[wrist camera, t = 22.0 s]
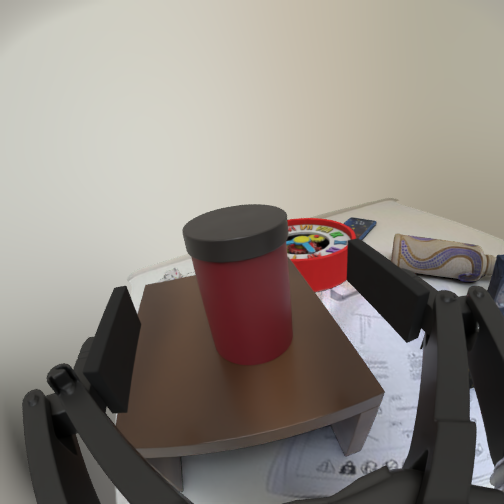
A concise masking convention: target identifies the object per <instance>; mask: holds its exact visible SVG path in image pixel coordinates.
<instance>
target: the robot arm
mask: <svg viewBox="0 0 504 504" xmlns="http://www.w3.org/2000/svg"><path fill="white" fill-rule="evenodd" d="M347 281H348V282H349V283H350V284H351V285H352V286H353V287H354V288H355V289H356V290H357V291H358V292H359V293H360V294H361V295H362V296H363V297H364V298H365V299H366V300H367V301H368V302H369V303H370V304H371V305H372V306H373V307H374V308H375V309H376V310H377V312H378V313H379V314H380V315H381V316H382V317H383V318H384V319H385V320H386V321H387V322H388V323H389V324H390V325H391V326H392V327H393V329H394V330H395V331H396V332H397V333H398V334H399V335H400V336H401V337H402V338H403V339H404V340H405V342H406V343H408V342H410V341H412V340H414V339H416V338H418V336H419V333H420V330H421V328H422V329H423V330H424V331H425V335H424V338H423V341H422V345H421V348H420V349H422V348H423V361H422V373H421V384H420V392H419V400H418V407H417V414H416V420H415V426H414V431H413V436H412V441H411V446H410V450H409V454H408V456H407V458H406V460H405V462H404V465H403V467H402V469H392V470H389V469H388V468H387V466H384V467H382V468H380V469H378V470H376V471H374V472H371V473H369V474H367V475H365V476H362V477H360V478H358V479H357V480H356V481H354V482H353V483H351V484H350V485H348V486H347V487H345V488H344V489H342V490H341V491H339V492H338V493H336V494H335V495H333V496H330V497H324V498H316V499H305V500H295V501H291V502H287V503H283V504H504V316H503V314H502V313H501V311H500V309H499V308H498V306H497V305H496V303H495V302H494V300H493V298H492V297H491V295H490V294H489V292H488V291H487V290H486V289H484V288H483V287H480V286H472V287H470V288H469V290H468V293H467V296H461V297H458V296H457V295H456V294H455V293H453V292H451V291H447V290H441V291H437V290H436V289H435V288H433V287H432V286H431V285H429V284H428V283H427V282H425V281H424V280H422V279H421V278H420V277H418V276H417V275H416V274H415V273H413V272H412V271H410V270H407V269H405V268H399V267H398V266H397V265H395V264H394V263H393V262H391V261H390V260H389V259H387V258H386V257H384V256H383V255H382V254H380V253H379V252H377V251H376V250H375V249H373V248H372V247H370V246H369V245H367V244H366V243H365V242H363V241H362V240H360V239H359V238H356V239H351V240H348V245H347ZM478 327H479V329H478ZM140 329H141V322H140V320H139V317H138V315H137V312H136V310H135V307H134V305H133V302H132V300H131V297H130V294H129V292H128V289H127V286H122V287H116V288H114V290H113V292H112V295H111V297H110V299H109V302H108V304H107V306H106V309H105V311H104V314H103V316H102V319H101V321H100V324H99V326H98V329H97V332H96V334H95V337H89V338H88V339H87V340H86V341H85V342H84V344H83V345H82V348H81V350H80V353H79V355H78V359H77V361H76V364H75V366H74V369H72V368H71V366H70V365H68V364H65V363H64V364H59V365H57V366H55V367H53V368H52V369H51V370H50V372H49V373H48V375H47V382H48V384H49V385H50V387H51V388H52V389H53V390H54V392H55V393H54V394H51V395H47V396H45V395H44V393H43V392H42V391H41V390H38V389H35V390H31V391H30V392H28V393H27V394H26V395H25V397H24V399H23V403H22V406H23V424H24V435H25V444H26V451H27V458H28V464H29V469H30V474H31V479H32V484H33V488H34V493H35V496H36V500H37V504H101V503H100V501H99V499H98V496H97V494H96V492H95V489H94V487H93V484H92V482H91V479H90V477H89V474H88V471H87V468H86V465H85V463H84V460H83V457H82V454H81V451H80V447H79V444H78V440H77V437H76V433H78V434H79V435H80V437H81V438H82V440H83V442H84V443H85V444H86V446H87V448H88V449H89V451H90V452H91V454H92V455H93V457H94V458H95V460H96V461H97V462H98V464H99V465H100V467H101V468H102V469H103V471H104V472H105V473H106V475H107V476H108V477H109V478H110V480H111V481H112V483H113V484H114V485H115V486H116V488H117V489H118V490H119V491H120V492H121V494H122V495H123V496H124V497H125V498H126V499H127V501H128V502H129V503H130V504H194V503H192V502H191V501H190V500H189V499H188V498H186V497H185V496H184V495H183V494H182V493H180V492H179V491H178V490H177V489H176V488H175V487H174V486H172V485H171V484H170V483H169V482H168V481H167V480H166V479H165V478H164V477H163V476H162V475H161V474H160V473H159V472H157V471H156V470H155V469H154V468H153V467H152V466H151V465H150V464H149V463H148V462H147V461H146V459H145V458H144V457H143V456H142V455H141V454H140V453H139V452H138V451H137V450H136V449H135V448H134V447H133V445H132V444H131V443H130V442H129V441H128V440H127V439H126V438H125V436H124V435H123V434H122V433H121V432H120V430H119V429H118V428H117V427H116V426H115V424H114V423H113V422H112V421H111V420H110V418H109V417H108V416H107V414H106V413H105V412H106V407H108V408H109V409H110V411H111V412H112V413H127V411H128V403H129V395H130V388H131V381H132V374H133V368H134V362H135V356H136V350H137V345H138V339H139V334H140ZM469 372H470V375H471V378H472V381H473V385H474V388H475V391H476V395H477V398H478V402H479V406H480V410H481V414H482V418H483V422H484V427H485V432H486V436H487V442H488V447H489V451H490V455H491V458H492V461H493V464H494V467H495V468H494V473H493V474H492V475H491V477H490V483H491V485H493V486H494V489H493V488H487V487H481V486H476V485H472V484H471V482H472V475H473V468H474V459H475V448H476V430H477V429H476V423H475V422H472V421H470V390H469Z"/></svg>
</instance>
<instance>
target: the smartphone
mask: <svg viewBox="0 0 504 504" xmlns="http://www.w3.org/2000/svg"><path fill="white" fill-rule="evenodd" d="M344 224H345V225H346V226H348V227H350V228H351V229H352V230H353V231H354V233H355V236H356V238H359V239H360V240H362V239H363V238H364V237H365V236H366V234H367V233H368V232H369V231H370V230H371V229H372V228H373V227H374V226H375V224H376V221H372V220H366V219H359V218H350V219H348V220H347V221H346V222H345V223H344Z"/></svg>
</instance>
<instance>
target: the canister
mask: <svg viewBox="0 0 504 504" xmlns="http://www.w3.org/2000/svg"><path fill="white" fill-rule="evenodd" d="M288 234H289V233H288V222H287V214H286V212H285V211H284V210H282V209H280V208H277V207H274V206H269V205H256V204H254V205H239V206H232V207H226V208H221V209H217V210H214V211H210V212H207V213H205V214H202V215H200V216H198V217H196V218H194V219H193V220H191V221H189V222H188V223H187V224H186V225H185V226H184V227H183V237H184V241H185V245H186V249H187V252H188V254H189V255H190V256H191V257H192V261H193V266H194V270H195V274H196V278H197V282H198V286H199V289H200V293H201V297H202V301H203V305H204V308H205V312H206V316H207V319H208V323H209V326H210V330H211V334H212V337H213V340H214V344H215V347H216V350H217V352H218V353H219V354H220V355H221V356H222V357H223V358H224V359H226V360H228V361H230V362H232V363H235V364H239V365H258V364H263V363H267V362H269V361H272V360H274V359H276V358H278V357H279V356H280V355H282V354H283V353H284V352H285V351H286V350H287V349H288V348H289V346H290V344H291V342H292V339H293V327H292V311H291V296H290V282H289V269H288V257H287V245H286V240H287V238H288Z"/></svg>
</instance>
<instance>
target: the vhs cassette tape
mask: <svg viewBox="0 0 504 504" xmlns="http://www.w3.org/2000/svg"><path fill="white" fill-rule="evenodd" d="M496 258H497V259H496V262H495V265H494V269H493V273H492V277H491V280H490V284H489V287H488V290H487V291H488V292H489V294H490V295H491V297H492V298H493V300H494V302H495V303H496V305H497V306H498V308H499V309H500V311H501V313H502V314H503V316H504V255H497V257H496Z"/></svg>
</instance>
